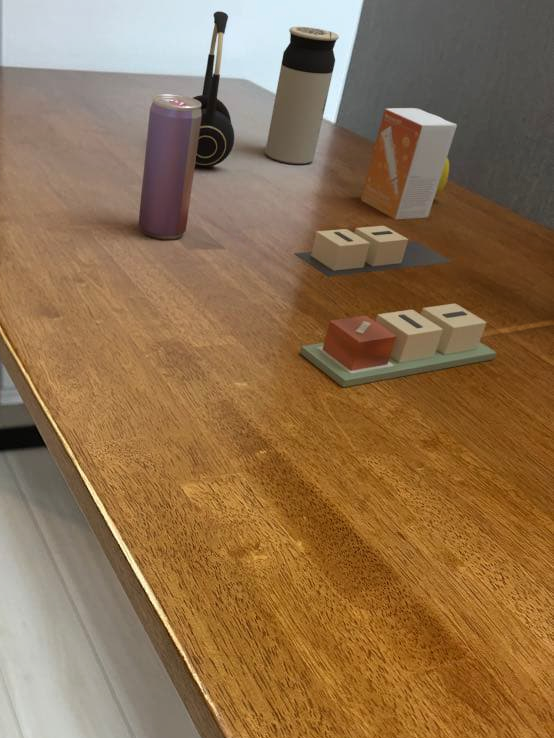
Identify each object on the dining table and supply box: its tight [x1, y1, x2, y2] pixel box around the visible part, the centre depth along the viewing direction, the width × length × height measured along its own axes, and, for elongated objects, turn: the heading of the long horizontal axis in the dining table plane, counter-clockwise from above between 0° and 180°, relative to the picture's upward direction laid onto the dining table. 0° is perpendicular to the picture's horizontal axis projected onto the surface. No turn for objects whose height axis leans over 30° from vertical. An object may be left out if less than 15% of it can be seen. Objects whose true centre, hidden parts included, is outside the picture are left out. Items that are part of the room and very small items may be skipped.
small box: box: [360, 107, 458, 220], centre depth 118 cm, size 8×6×13 cm
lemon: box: [434, 157, 450, 199], centre depth 125 cm, size 6×6×8 cm
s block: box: [323, 315, 396, 370], centre depth 82 cm, size 5×5×3 cm
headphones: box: [192, 10, 235, 168], centre depth 126 cm, size 9×15×20 cm, turn 0°
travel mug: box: [264, 26, 340, 165], centre depth 134 cm, size 8×8×18 cm
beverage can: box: [137, 93, 202, 241], centre depth 102 cm, size 6×6×15 cm
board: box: [293, 225, 454, 278], centre depth 105 cm, size 20×7×4 cm, turn 118°
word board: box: [299, 302, 497, 388], centre depth 85 cm, size 20×7×4 cm, turn 118°
